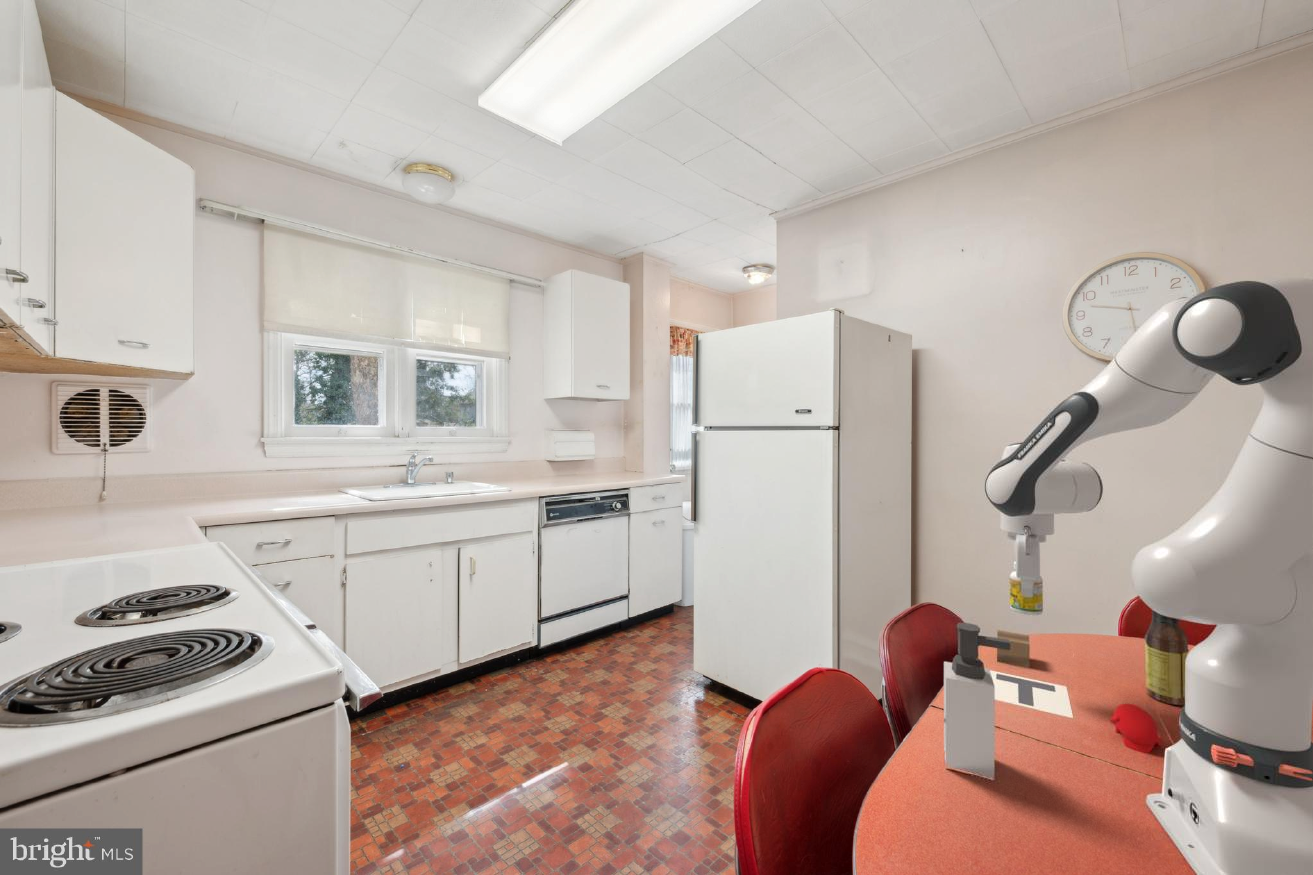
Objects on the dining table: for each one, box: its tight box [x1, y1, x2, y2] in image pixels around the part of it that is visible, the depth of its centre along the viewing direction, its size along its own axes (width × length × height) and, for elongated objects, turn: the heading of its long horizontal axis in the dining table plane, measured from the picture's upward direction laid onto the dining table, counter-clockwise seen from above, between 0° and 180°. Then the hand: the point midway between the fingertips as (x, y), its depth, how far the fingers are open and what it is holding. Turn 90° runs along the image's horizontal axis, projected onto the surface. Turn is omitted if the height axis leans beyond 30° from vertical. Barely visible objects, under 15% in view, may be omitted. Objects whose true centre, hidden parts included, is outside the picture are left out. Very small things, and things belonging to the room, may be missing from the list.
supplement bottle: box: [1009, 561, 1044, 616], centre depth 105 cm, size 5×5×10 cm
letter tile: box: [989, 669, 1074, 719], centre depth 105 cm, size 14×14×1 cm
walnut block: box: [996, 629, 1031, 669], centre depth 120 cm, size 6×6×6 cm
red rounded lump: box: [1109, 703, 1164, 754], centre depth 89 cm, size 8×6×6 cm
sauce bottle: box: [1144, 609, 1190, 706], centre depth 103 cm, size 7×6×20 cm
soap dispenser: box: [943, 622, 1010, 780], centre depth 83 cm, size 6×9×22 cm
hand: (1026, 591), depth 105 cm, fingers closed on supplement bottle, 5 cm apart
